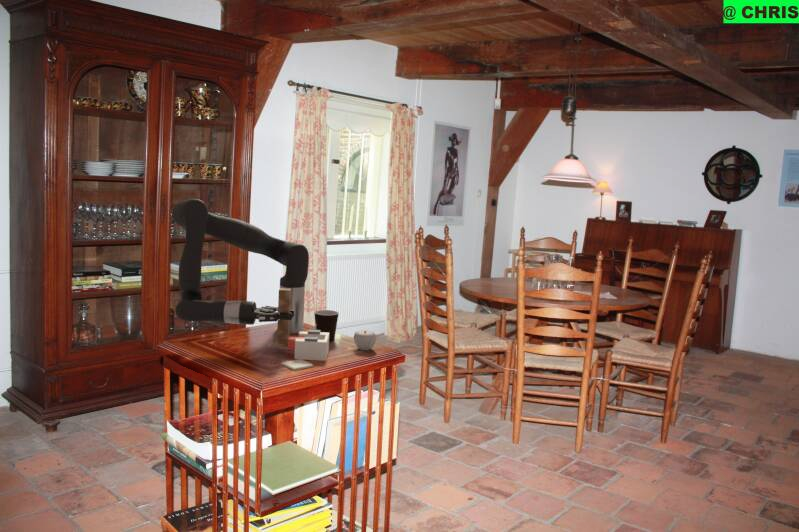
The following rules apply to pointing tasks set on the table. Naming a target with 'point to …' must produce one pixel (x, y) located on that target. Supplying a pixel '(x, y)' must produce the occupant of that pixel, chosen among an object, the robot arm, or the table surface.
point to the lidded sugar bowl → (364, 339)
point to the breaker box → (312, 345)
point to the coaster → (297, 364)
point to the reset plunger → (293, 342)
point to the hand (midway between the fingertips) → (292, 315)
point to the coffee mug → (326, 322)
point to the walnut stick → (283, 325)
